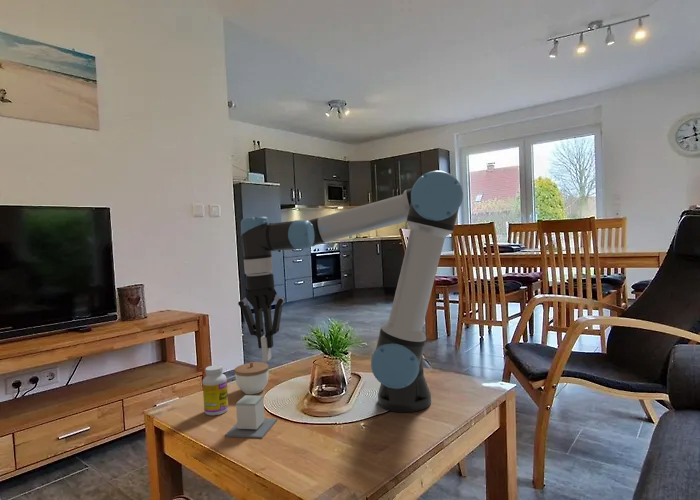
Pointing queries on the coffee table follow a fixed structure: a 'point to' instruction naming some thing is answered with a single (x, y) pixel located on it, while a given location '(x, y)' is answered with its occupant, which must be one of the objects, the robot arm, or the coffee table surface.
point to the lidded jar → (252, 377)
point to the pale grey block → (250, 412)
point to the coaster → (252, 430)
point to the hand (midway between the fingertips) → (267, 359)
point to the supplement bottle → (215, 391)
